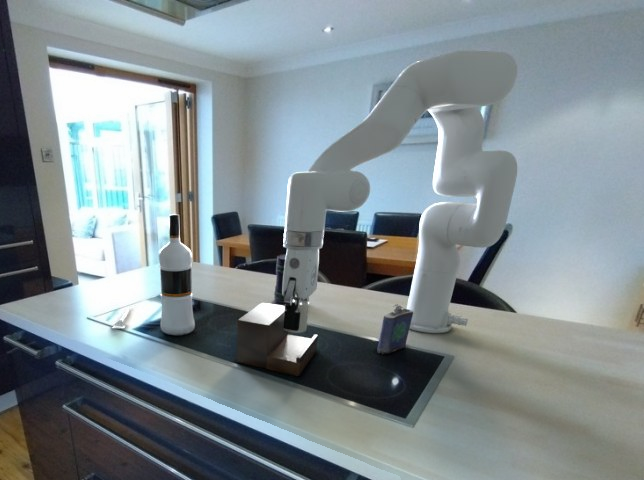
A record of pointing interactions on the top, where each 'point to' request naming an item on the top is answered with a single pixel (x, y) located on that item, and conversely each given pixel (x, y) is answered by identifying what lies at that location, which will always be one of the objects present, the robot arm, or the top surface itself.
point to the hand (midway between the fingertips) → (295, 324)
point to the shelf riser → (272, 341)
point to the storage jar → (279, 280)
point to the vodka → (176, 283)
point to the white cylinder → (301, 316)
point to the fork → (120, 323)
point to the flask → (394, 330)
